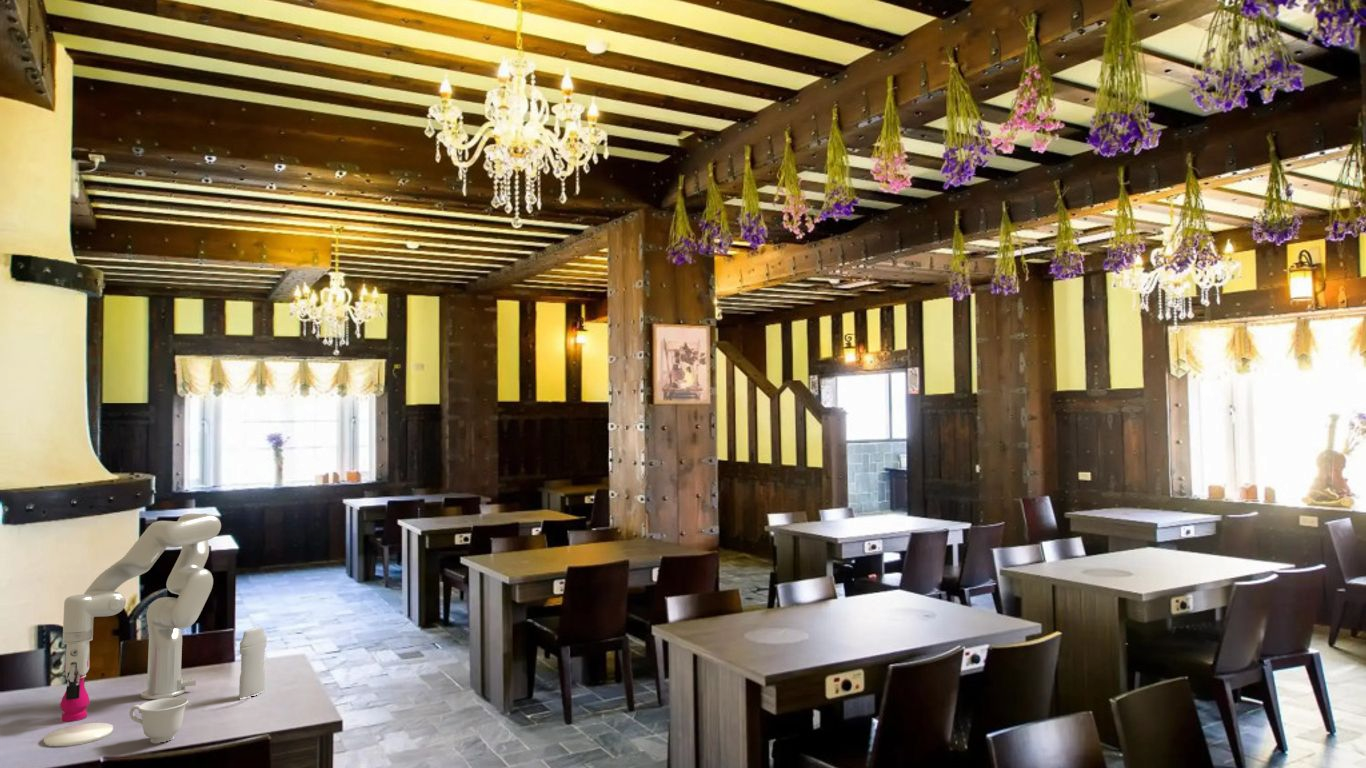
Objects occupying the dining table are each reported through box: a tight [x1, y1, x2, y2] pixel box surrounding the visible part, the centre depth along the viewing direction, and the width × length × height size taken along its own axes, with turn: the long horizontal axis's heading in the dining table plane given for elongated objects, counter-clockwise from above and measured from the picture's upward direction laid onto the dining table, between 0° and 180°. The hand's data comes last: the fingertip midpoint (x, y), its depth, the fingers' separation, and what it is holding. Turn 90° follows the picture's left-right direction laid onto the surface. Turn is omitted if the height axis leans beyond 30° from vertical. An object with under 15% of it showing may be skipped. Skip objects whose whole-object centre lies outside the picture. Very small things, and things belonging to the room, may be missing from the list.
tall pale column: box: [238, 626, 267, 699], centre depth 278 cm, size 11×4×22 cm, turn 161°
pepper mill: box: [59, 661, 90, 723], centre depth 256 cm, size 7×7×20 cm
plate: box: [43, 722, 114, 747], centre depth 240 cm, size 16×16×1 cm
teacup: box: [128, 696, 189, 744], centre depth 237 cm, size 12×15×10 cm
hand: (75, 694), depth 256 cm, fingers open, 7 cm apart
